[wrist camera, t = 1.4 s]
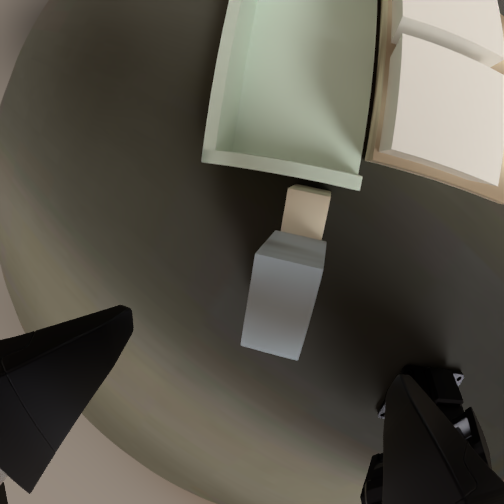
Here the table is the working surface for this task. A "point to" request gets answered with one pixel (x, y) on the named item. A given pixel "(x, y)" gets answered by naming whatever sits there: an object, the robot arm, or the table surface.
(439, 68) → the tile
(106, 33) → the table surface
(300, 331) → the grey and tan block
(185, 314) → the table surface
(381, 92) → the tan tray
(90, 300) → the table surface
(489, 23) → the tile
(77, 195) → the table surface
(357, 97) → the tray
